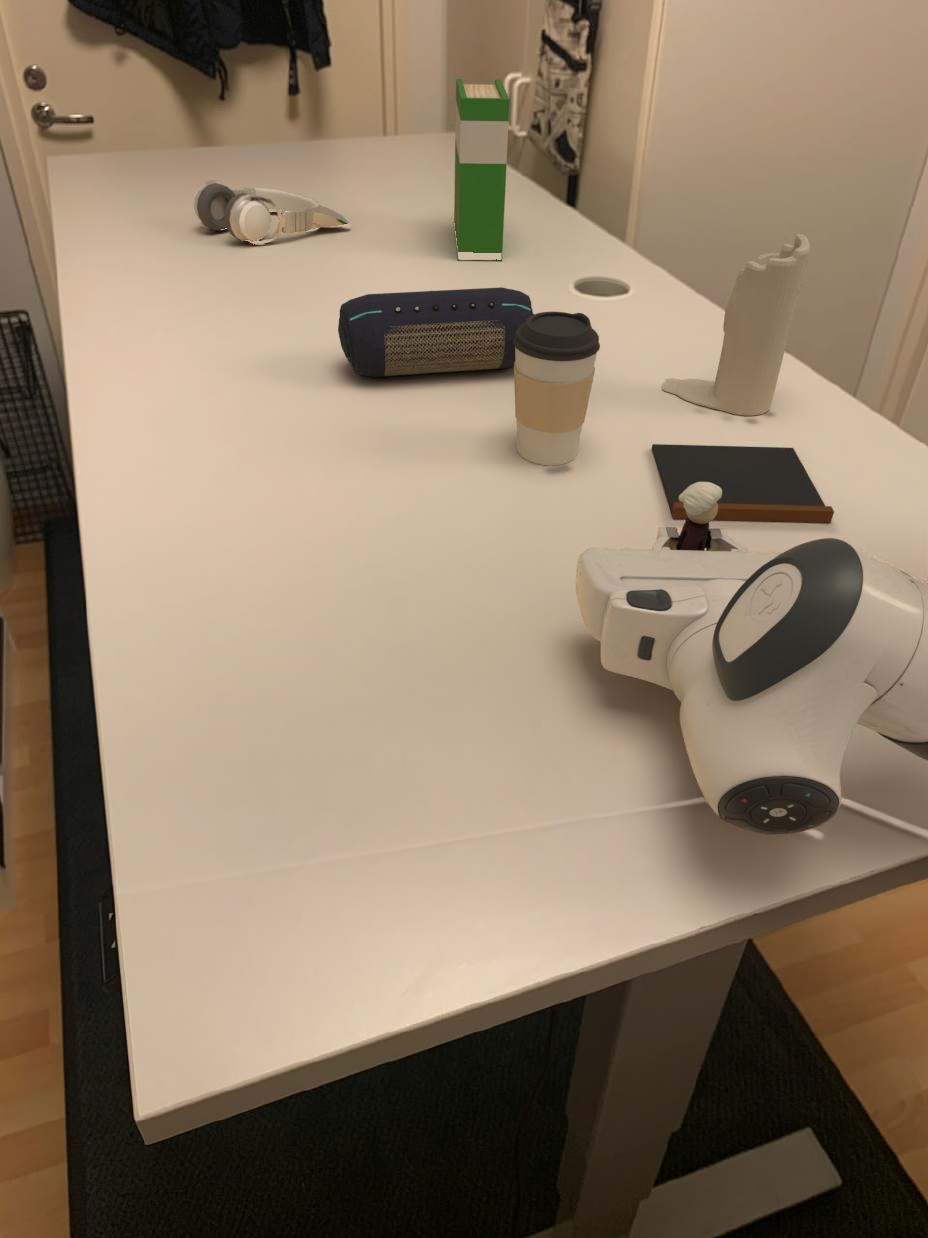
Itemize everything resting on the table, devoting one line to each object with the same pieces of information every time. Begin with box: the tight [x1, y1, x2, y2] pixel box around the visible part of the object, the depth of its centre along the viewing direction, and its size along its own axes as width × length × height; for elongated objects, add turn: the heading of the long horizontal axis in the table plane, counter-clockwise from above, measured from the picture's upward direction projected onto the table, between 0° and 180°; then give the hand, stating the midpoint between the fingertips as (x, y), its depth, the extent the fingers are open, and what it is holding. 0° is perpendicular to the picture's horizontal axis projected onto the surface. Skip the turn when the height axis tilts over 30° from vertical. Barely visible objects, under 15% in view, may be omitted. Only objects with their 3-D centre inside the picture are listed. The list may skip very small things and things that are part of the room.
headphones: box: [193, 179, 350, 246], centre depth 163 cm, size 22×8×22 cm
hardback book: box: [453, 78, 511, 262], centre depth 152 cm, size 18×7×24 cm, turn 3°
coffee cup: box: [513, 311, 601, 466], centre depth 98 cm, size 9×9×15 cm
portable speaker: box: [337, 287, 535, 378], centre depth 116 cm, size 25×10×10 cm, turn 102°
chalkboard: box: [651, 443, 835, 524], centre depth 97 cm, size 16×15×1 cm
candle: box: [661, 233, 811, 417], centre depth 108 cm, size 7×14×20 cm, turn 60°
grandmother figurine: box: [677, 482, 722, 551], centre depth 77 cm, size 8×4×13 cm, turn 168°
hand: (689, 534), depth 77 cm, fingers closed on grandmother figurine, 3 cm apart
